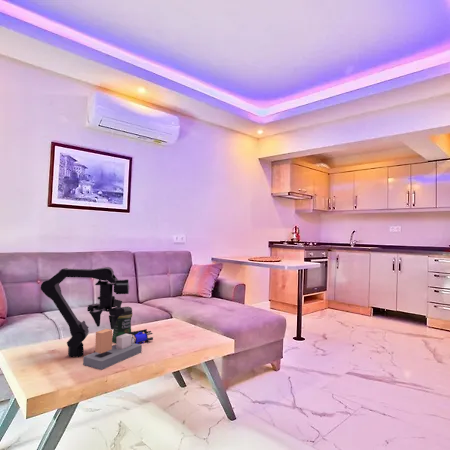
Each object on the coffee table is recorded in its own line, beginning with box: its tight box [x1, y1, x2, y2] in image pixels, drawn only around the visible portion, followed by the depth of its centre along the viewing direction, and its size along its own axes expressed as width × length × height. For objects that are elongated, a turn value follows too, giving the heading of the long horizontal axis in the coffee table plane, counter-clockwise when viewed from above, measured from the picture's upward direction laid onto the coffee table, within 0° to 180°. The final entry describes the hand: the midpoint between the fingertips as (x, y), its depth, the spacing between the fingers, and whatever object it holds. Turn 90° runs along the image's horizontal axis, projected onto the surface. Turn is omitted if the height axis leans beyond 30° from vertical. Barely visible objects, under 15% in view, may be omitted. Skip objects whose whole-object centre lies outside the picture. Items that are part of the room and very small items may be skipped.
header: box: [82, 343, 143, 371], centre depth 151 cm, size 11×24×4 cm, turn 152°
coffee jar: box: [112, 306, 133, 345], centre depth 176 cm, size 10×8×19 cm
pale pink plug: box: [115, 334, 131, 350], centre depth 157 cm, size 4×6×8 cm, turn 152°
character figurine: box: [126, 328, 154, 345], centre depth 173 cm, size 8×7×15 cm
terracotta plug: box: [94, 328, 113, 353], centre depth 146 cm, size 4×6×8 cm, turn 152°
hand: (105, 327), depth 157 cm, fingers open, 9 cm apart
